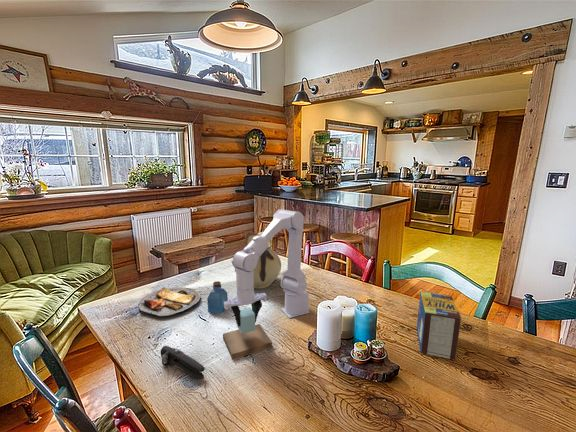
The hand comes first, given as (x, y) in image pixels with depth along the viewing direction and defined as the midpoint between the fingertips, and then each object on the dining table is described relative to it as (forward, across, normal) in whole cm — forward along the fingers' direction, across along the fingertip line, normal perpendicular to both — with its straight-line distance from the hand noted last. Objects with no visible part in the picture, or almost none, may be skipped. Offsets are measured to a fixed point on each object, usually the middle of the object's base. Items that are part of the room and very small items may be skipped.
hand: (246, 322), depth 99 cm
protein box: (+8, -59, +29) cm, 66 cm away
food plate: (+8, +22, -41) cm, 47 cm away
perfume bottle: (+8, +4, -27) cm, 28 cm away
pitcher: (+8, -21, -42) cm, 48 cm away
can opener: (+8, +22, +3) cm, 23 cm away
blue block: (+2, 0, 0) cm, 2 cm away
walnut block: (+8, 0, 0) cm, 8 cm away
